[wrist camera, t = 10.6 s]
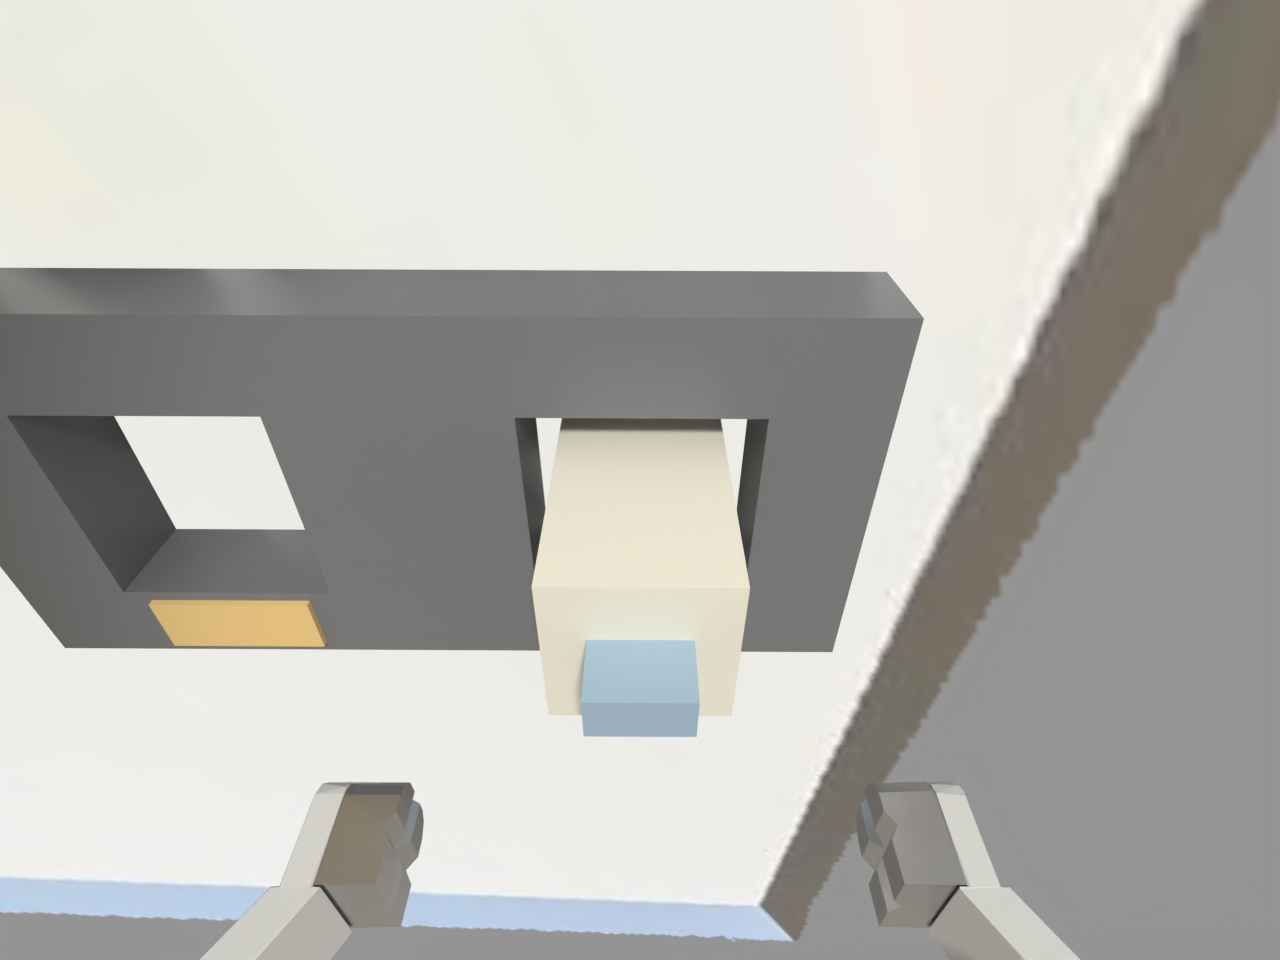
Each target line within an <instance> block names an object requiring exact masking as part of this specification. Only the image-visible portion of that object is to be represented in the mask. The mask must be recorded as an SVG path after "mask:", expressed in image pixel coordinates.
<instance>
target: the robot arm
mask: <svg viewBox="0 0 1280 960" xmlns="http://www.w3.org/2000/svg"><path fill="white" fill-rule="evenodd" d="M414 792H415V791H414V789H413V787H412V785H411V783H410V782H328V783H323V784H322V785H321V786H320V788H319V789H318V791H317V792H316V794H315V795H314V797H313V800H312V802H311V805H310V808H309V810H308V813H307V815H306V818H305V821H304V823H303V826H302V828H301V831H300V834H299V836H298V839H297V841H296V844H295V847H294V849H293V852H292V854H291V857H290V860H289V862H288V865H287V867H286V870H285V873H284V875H283V878H282V880H281V883H280V886H271V887H270V888H269V889H268V890H267V891H266V892H265V893H264V894H263V895H262V896H261V897H260V898H259V899H258V900H257V901H256V902H255V903H254V904H253V905H252V906H251V907H250V908H249V909H248V910H247V911H246V912H245V913H244V914H243V915H242V916H241V917H240V919H239V920H238V921H237V922H236V923H235V924H234V925H233V926H232V927H231V928H230V929H229V930H228V931H227V932H226V933H225V934H224V935H223V936H222V937H221V938H220V939H219V940H218V941H217V942H216V943H215V944H214V945H213V946H212V947H211V948H210V949H209V950H208V951H207V952H206V953H205V954H204V955H203V956H202V957H201V958H200V960H331V959H332V958H333V956H334V955H335V954H336V952H337V951H338V950H339V948H340V947H341V946H342V944H343V943H344V942H345V941H346V939H347V938H348V937H349V935H350V934H351V933H352V929H351V928H370V927H401V925H402V921H403V917H404V912H405V908H406V904H407V900H408V896H409V892H410V888H411V882H410V879H409V877H408V874H407V872H406V870H407V869H408V868H409V867H410V865H411V864H412V863H413V862H414V861H415V860H416V859H417V858H418V855H419V851H420V846H421V842H422V836H423V825H424V818H423V810H422V807H421V805H420V803H418V802H416V801H415V800H413V796H414ZM865 792H866V796H867V800H865V801H864V802H862V803H860V805H859V808H858V811H857V821H856V829H857V836H858V842H859V847H860V851H861V855H862V858H863V859H864V860H865V861H866V862H867V863H868V864H869V865H870V867H871V868H872V869H873V870H874V872H873V874H872V877H871V879H870V882H869V888H870V892H871V896H872V900H873V904H874V908H875V912H876V916H877V920H878V924H879V927H910V928H929V930H928V932H929V933H930V935H931V936H932V937H933V939H934V940H935V941H936V943H937V944H938V945H939V946H940V948H941V949H942V950H943V952H944V953H945V955H946V956H947V957H948V959H949V960H1080V959H1079V958H1078V957H1077V956H1076V955H1075V954H1074V953H1073V952H1072V950H1071V949H1070V948H1069V947H1068V946H1067V945H1066V944H1065V943H1064V942H1063V941H1062V940H1061V939H1060V938H1059V937H1058V936H1057V935H1056V934H1055V933H1054V932H1053V931H1052V930H1051V929H1050V928H1049V927H1048V926H1047V925H1046V924H1045V923H1044V922H1043V921H1042V920H1041V919H1040V918H1039V917H1038V916H1037V914H1036V913H1035V912H1034V911H1033V910H1032V909H1031V908H1030V907H1029V906H1028V905H1027V904H1026V903H1025V902H1024V901H1023V900H1022V899H1021V898H1020V897H1019V896H1018V895H1017V894H1016V893H1015V892H1014V891H1013V890H1012V889H1011V888H1010V887H1007V886H1000V883H999V880H998V878H997V875H996V873H995V870H994V868H993V865H992V862H991V860H990V857H989V855H988V852H987V850H986V847H985V844H984V842H983V839H982V837H981V834H980V831H979V829H978V826H977V824H976V821H975V819H974V816H973V813H972V811H971V808H970V806H969V803H968V801H967V798H966V795H965V793H964V791H963V790H962V789H961V787H960V786H959V785H958V784H956V783H955V782H928V781H925V782H898V783H871V784H868V786H867V788H866V791H865Z"/></svg>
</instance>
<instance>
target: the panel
mask: <svg viewBox="0 0 1280 960" xmlns="http://www.w3.org/2000/svg"><path fill="white" fill-rule="evenodd" d="M923 320H924V318H923V316H922V315H921V314H920V313H919V311H918V310H917V309H916V308H915V306H914V305H913V304H912V303H911V302H910V300H909V299H908V298H907V297H906V295H905V294H904V293H903V292H902V290H901V289H900V288H899V287H898V285H897V284H896V283H895V282H894V280H893V279H892V278H891V277H890V275H889V274H888V273H887V272H831V271H614V270H397V269H181V268H0V567H1V568H2V570H3V571H4V572H5V573H6V575H7V576H8V577H9V578H10V580H11V581H12V582H13V583H14V585H15V586H16V587H17V588H18V590H19V591H20V592H21V593H22V595H23V596H24V597H25V598H26V600H27V601H28V602H29V603H30V605H31V606H32V607H33V608H34V610H35V611H36V612H37V614H38V615H39V616H40V617H41V619H42V620H43V621H44V622H45V624H46V625H47V626H48V627H49V629H50V630H51V631H52V632H53V634H54V635H55V636H56V637H57V639H58V640H59V641H60V642H61V644H62V645H63V646H64V647H65V648H135V649H324V650H512V651H540V647H539V639H538V632H537V624H536V617H535V609H534V602H533V594H532V582H533V576H534V571H535V565H536V560H537V554H538V548H539V543H540V537H541V532H542V526H543V521H544V515H545V509H546V508H545V498H544V489H543V479H542V470H541V461H540V451H539V442H538V432H537V423H536V418H631V419H747V425H746V433H745V442H744V450H743V459H742V467H741V476H740V485H739V493H738V502H737V515H738V521H739V527H740V533H741V539H742V544H743V550H744V556H745V562H746V567H747V573H748V579H749V585H750V593H749V600H748V606H747V613H746V620H745V627H744V634H743V640H742V647H741V652H833V648H834V645H835V641H836V637H837V634H838V630H839V626H840V623H841V619H842V615H843V612H844V608H845V604H846V601H847V597H848V594H849V590H850V586H851V583H852V579H853V575H854V572H855V568H856V564H857V561H858V557H859V553H860V550H861V546H862V543H863V539H864V535H865V532H866V528H867V524H868V521H869V517H870V513H871V510H872V506H873V502H874V499H875V495H876V492H877V488H878V484H879V481H880V477H881V473H882V470H883V466H884V462H885V459H886V455H887V452H888V448H889V444H890V441H891V437H892V433H893V430H894V426H895V422H896V419H897V415H898V411H899V408H900V404H901V401H902V397H903V393H904V390H905V386H906V382H907V379H908V375H909V371H910V368H911V364H912V360H913V357H914V353H915V350H916V346H917V342H918V339H919V335H920V331H921V328H922V324H923ZM114 416H221V417H261V420H262V422H263V425H264V427H265V430H266V432H267V435H268V438H269V440H270V443H271V445H272V448H273V450H274V453H275V455H276V458H277V460H278V463H279V465H280V468H281V470H282V473H283V475H284V478H285V480H286V483H287V485H288V488H289V491H290V493H291V496H292V498H293V501H294V503H295V506H296V508H297V511H298V513H299V516H300V518H301V521H302V523H303V526H304V528H305V530H291V529H176V528H175V526H174V524H173V522H172V520H171V519H170V517H169V515H168V513H167V511H166V509H165V508H164V506H163V504H162V502H161V500H160V498H159V497H158V495H157V493H156V491H155V489H154V488H153V486H152V484H151V482H150V480H149V478H148V477H147V475H146V473H145V471H144V469H143V468H142V466H141V464H140V462H139V460H138V458H137V457H136V455H135V453H134V451H133V449H132V448H131V446H130V444H129V442H128V440H127V438H126V437H125V435H124V433H123V431H122V429H121V428H120V426H119V424H118V422H117V420H116V418H115V417H114Z"/></svg>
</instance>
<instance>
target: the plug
mask: <svg viewBox="0 0 1280 960" xmlns="http://www.w3.org/2000/svg"><path fill="white" fill-rule="evenodd" d="M749 593H750V585H749V579H748V573H747V567H746V562H745V556H744V550H743V544H742V539H741V533H740V527H739V521H738V515H737V510H736V504H735V498H734V492H733V487H732V481H731V475H730V469H729V464H728V458H727V452H726V446H725V441H724V435H723V429H722V423H721V419H631V418H562V420H561V426H560V432H559V437H558V443H557V448H556V454H555V459H554V465H553V471H552V476H551V482H550V487H549V493H548V498H547V504H546V509H545V515H544V521H543V526H542V532H541V537H540V543H539V548H538V554H537V560H536V565H535V571H534V576H533V582H532V594H533V602H534V609H535V617H536V624H537V632H538V639H539V647H540V654H541V662H542V669H543V677H544V684H545V691H546V699H547V706H548V714H549V715H582V723H583V735H584V736H590V737H697V727H698V717H699V716H732V709H733V702H734V695H735V688H736V681H737V675H738V668H739V661H740V654H741V647H742V640H743V634H744V627H745V620H746V613H747V606H748V600H749Z"/></svg>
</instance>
